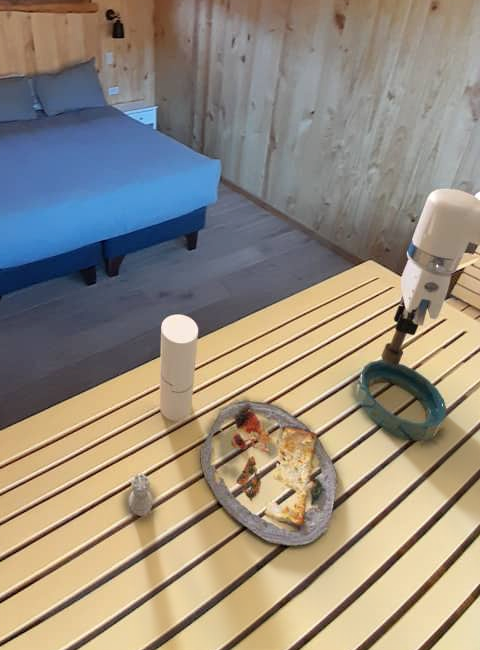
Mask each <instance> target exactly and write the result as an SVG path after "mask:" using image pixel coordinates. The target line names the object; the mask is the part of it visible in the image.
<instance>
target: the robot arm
mask: <svg viewBox="0 0 480 650" xmlns="http://www.w3.org/2000/svg"><path fill="white" fill-rule="evenodd" d="M470 243H472V244H474V245H477V246H480V191H478V192H476V193H475V194H474V195H473V194H472V193H468V192H466V191H463V190H458V189H454V188H437V189H435V190H433V191H431V192H430V193H429V195H427V198H426V200H425V204H424V205H423V209H422V212H421V214H420V216H419V220H418V223H417V225H416V228H415V230H414V233H413V236H412V238H411V241H410V243H409V247H408V249H407V252H406V257H407V259H408V260H407V261H406V264H405V266H404V269H403V272H402V274H401V278H400V288H401V295H402V296H401V298H400V301H399V305H398V307H397V310H396V312H395V314H394V317H393V321H394V322H395V323H396V325H395V327H394V329H395V331H396V330H397V331H399V332H403V333H407V334H406V335H411V336H415V335H416V332H417V330H418V328H419V326H422V327H423V326H424V323H425V318H426V315H427V312H428V315H429V319H432V320H437V319H438V317H439V316H440V313H441V310H442V308H443V305H444V302H445V299H446V297H447V295H448V294H447V293H448V291H449V287H450V283H451V279H452V274H454V273H455V272H457V269H458V267H459V265H460V263H461V261H462V258H463V257H464V254H465V252H466V250H467V247H468V246H469V244H470ZM404 309H405V310H404ZM412 311H415V312H416V313H415V314H414V313H411V312H412ZM403 312H404V313H403Z"/></svg>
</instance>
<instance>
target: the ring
mask: <svg viewBox="0 0 480 650" xmlns="http://www.w3.org/2000/svg"><path fill="white" fill-rule="evenodd" d="M380 382H381V383H382V382H383V383H390V384H392V385H395V386H398V387H400V388H402V389H403V390H406V391H407V392H408V393H409V394H411V395H412V396H413V397H414V398H415V399H416V400H417V401H418V402H419V403H420V405H421V406H422V407H423V409H424V411H425V414H426V421H425V422H424V423H418V422H413V421H409V420H406V419H403V418H400V417H399V416H397V415H396V414H394V413H392V412H390V411H388V410H387V409H386V408H385V407H384V406H382V405H381V404H380V403H379V402H378V401H377V400H376V399H375V398H374V396H373V395H372V394H371V392H370V386H371V385H373V384H374V383H380ZM355 391H356V397H357V400H358V402H359V405H360V407H361V409H362V410H363V411H364V412H365V413H366V415H367V416H368V417H369V419H371V421H373V422H374V423H375V424H376V425H378V426H379V427H380V428H382V429H383V430H385V431H386V432H388V433H390V434H391V435H393V436H394V437H395V436H396V437H398V438H401V439H404V440H407V441H413V442H425V441H429V440H432V438H434V436H436V435H437V434H438V433H439V430H440V429H441V427H442V425H443V423H444V422H445V419H446V416H447V411H448V410H447V406H446V402H445V399H444V397H443V396H442V394H441V393H440V390H438V388H437V387H436V385H434V384H433V383H432V382H431V381H430V380H429V379H427V377H425V376H424V375H423V374H421V373H419V372H418V371H417V370H415V369H413V368H411V367H409V366H407V365H405V364H402V363H399V364H398V365H390V364H388V363H386V362H385V361H384V360H383V359H378V360H374V361H370V362H369V363H367V364H366V365H365V366H363V369H362V371H361V373H360V375H359V378H358V381H357V384H356V389H355Z"/></svg>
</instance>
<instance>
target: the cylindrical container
mask: <svg viewBox="0 0 480 650" xmlns="http://www.w3.org/2000/svg"><path fill="white" fill-rule="evenodd" d="M160 325H161V327H160V358H159V359H160V361H159V391H158V393H159V395H158V396H159V397H158V408H159V411H160V413H161V415H163V417H164V418H165V419H167V420H169V421H172V422H176V423H177V422H182V421H184V420H186V419H187V418H189V417H190V415H191V413H192V407H193V396H194V385H195V384H194V382H195V372H196V360H197V349H198V337H199V327H198V324H197V323H196V322H195V320H193V319H192V318H191V317H190V316H187V315H184V314H171V315H169V316H167V317H165V319H163V320H162V323H161V324H160Z"/></svg>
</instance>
